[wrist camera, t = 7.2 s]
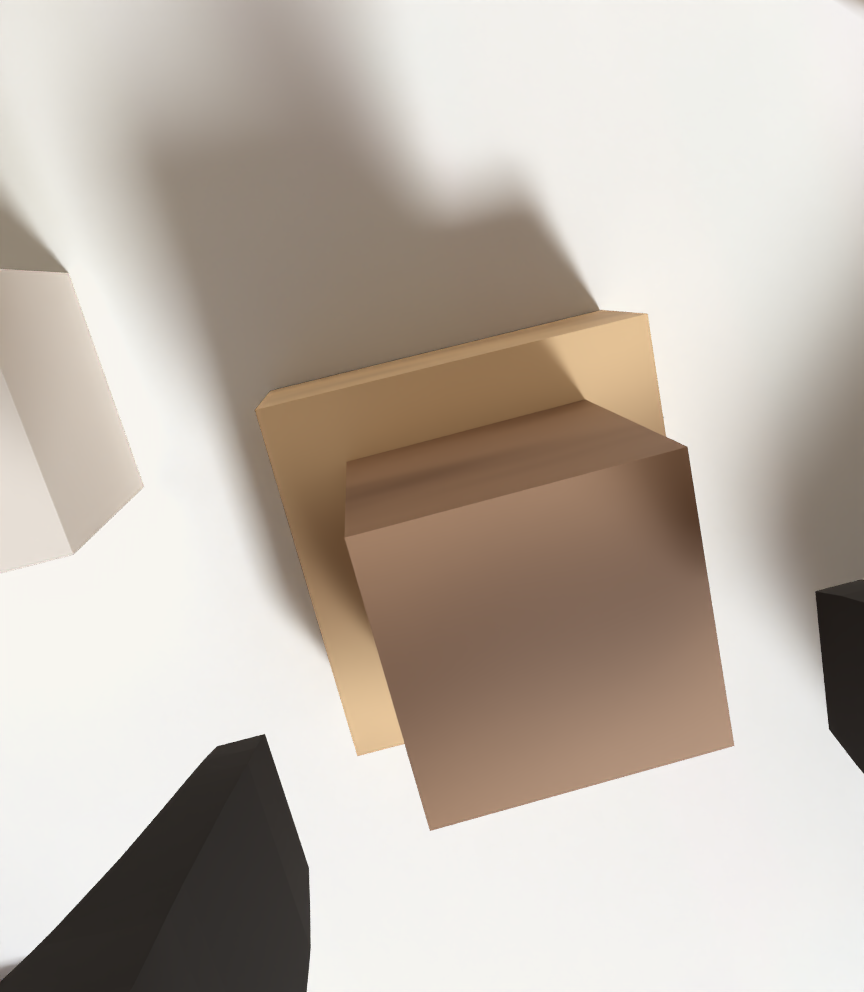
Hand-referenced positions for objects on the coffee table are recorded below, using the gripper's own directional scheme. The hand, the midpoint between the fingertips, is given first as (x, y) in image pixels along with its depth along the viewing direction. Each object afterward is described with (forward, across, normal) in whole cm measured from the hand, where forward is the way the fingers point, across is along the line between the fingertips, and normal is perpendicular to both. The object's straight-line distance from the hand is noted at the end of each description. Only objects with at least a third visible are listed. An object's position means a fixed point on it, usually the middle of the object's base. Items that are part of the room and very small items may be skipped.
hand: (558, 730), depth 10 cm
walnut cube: (+7, 0, 0) cm, 7 cm away
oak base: (+10, 0, 0) cm, 10 cm away
